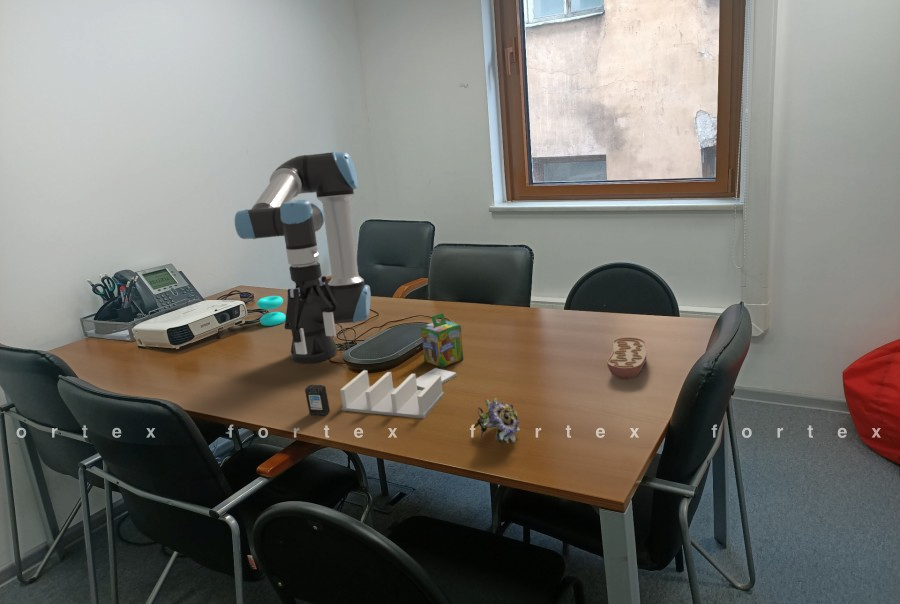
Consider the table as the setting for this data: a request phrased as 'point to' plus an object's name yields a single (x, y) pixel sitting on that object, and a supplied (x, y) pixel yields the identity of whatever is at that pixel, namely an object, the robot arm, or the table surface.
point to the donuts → (272, 317)
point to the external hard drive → (430, 375)
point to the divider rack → (391, 396)
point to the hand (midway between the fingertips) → (317, 344)
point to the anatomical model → (627, 357)
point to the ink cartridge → (317, 400)
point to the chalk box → (442, 342)
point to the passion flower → (499, 420)
